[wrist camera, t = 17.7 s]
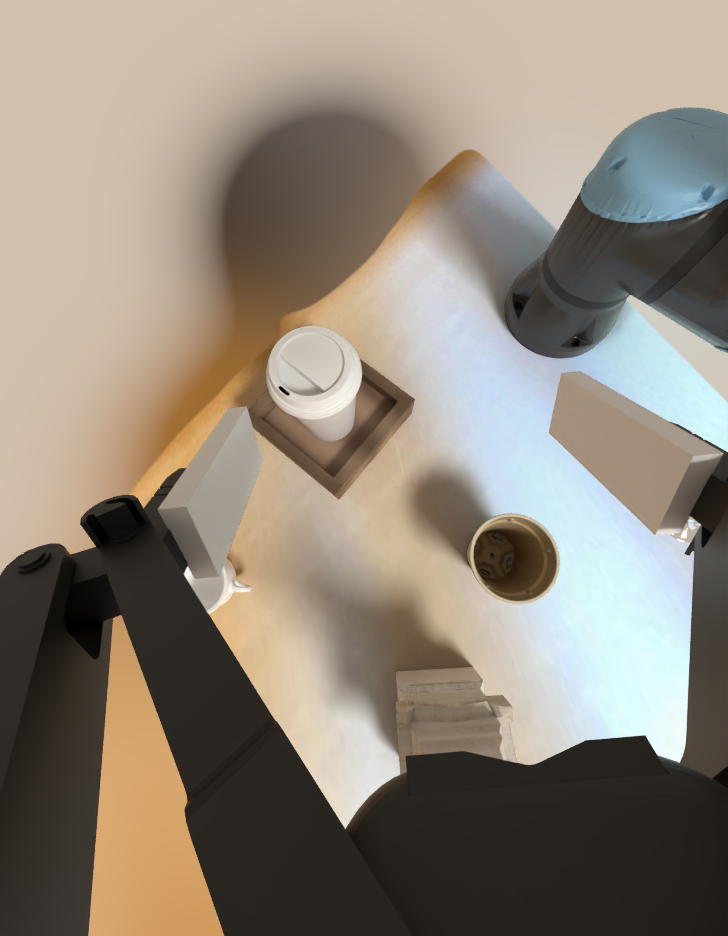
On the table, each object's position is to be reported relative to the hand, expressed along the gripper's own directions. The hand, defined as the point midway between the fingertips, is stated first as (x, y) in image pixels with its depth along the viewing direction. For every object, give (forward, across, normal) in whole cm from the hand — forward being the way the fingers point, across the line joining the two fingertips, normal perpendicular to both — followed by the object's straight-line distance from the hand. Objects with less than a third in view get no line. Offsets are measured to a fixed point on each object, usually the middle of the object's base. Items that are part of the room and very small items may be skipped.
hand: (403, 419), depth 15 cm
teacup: (+18, -23, -30) cm, 42 cm away
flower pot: (+18, +13, -30) cm, 37 cm away
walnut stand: (+33, -6, -15) cm, 36 cm away
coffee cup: (+30, -6, -13) cm, 34 cm away
